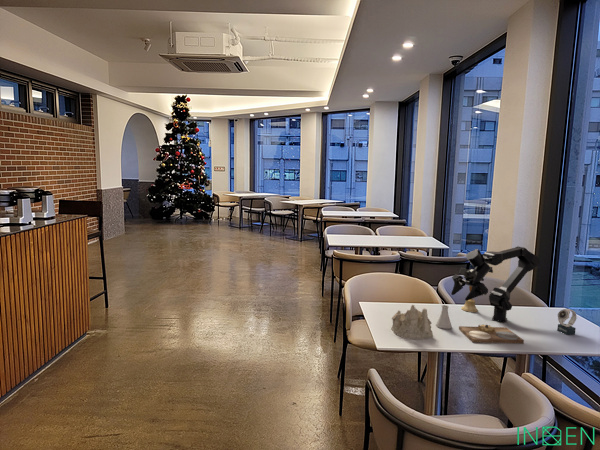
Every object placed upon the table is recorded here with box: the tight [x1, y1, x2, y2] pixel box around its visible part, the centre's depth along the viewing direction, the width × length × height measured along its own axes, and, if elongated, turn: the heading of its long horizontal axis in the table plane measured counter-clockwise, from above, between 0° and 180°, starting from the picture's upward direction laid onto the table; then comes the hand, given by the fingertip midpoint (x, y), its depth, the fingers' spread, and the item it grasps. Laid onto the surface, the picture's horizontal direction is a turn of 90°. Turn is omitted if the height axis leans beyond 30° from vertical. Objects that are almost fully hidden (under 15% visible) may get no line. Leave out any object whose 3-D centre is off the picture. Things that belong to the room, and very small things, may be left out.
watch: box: [556, 308, 578, 336], centre depth 193 cm, size 6×8×11 cm
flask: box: [435, 304, 452, 330], centre depth 197 cm, size 7×7×10 cm
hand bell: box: [461, 285, 479, 313], centre depth 222 cm, size 8×8×16 cm
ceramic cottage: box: [391, 304, 434, 341], centre depth 188 cm, size 16×16×15 cm
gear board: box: [458, 324, 525, 345], centre depth 186 cm, size 15×22×4 cm
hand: (458, 297), depth 198 cm, fingers open, 9 cm apart
